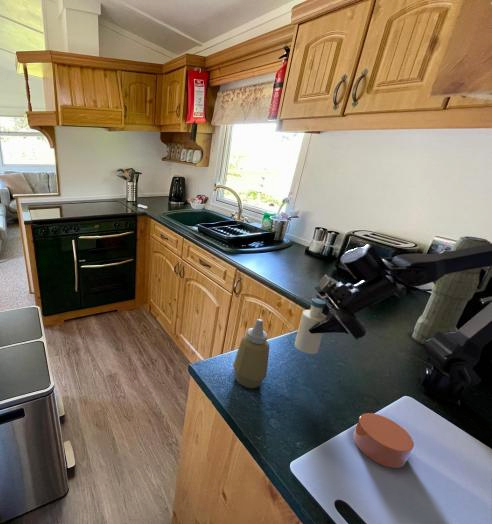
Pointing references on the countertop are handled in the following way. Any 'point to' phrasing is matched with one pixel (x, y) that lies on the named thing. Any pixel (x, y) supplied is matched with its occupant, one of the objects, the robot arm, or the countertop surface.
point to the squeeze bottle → (252, 357)
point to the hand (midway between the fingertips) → (306, 325)
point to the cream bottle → (309, 319)
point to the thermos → (450, 296)
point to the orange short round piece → (383, 440)
